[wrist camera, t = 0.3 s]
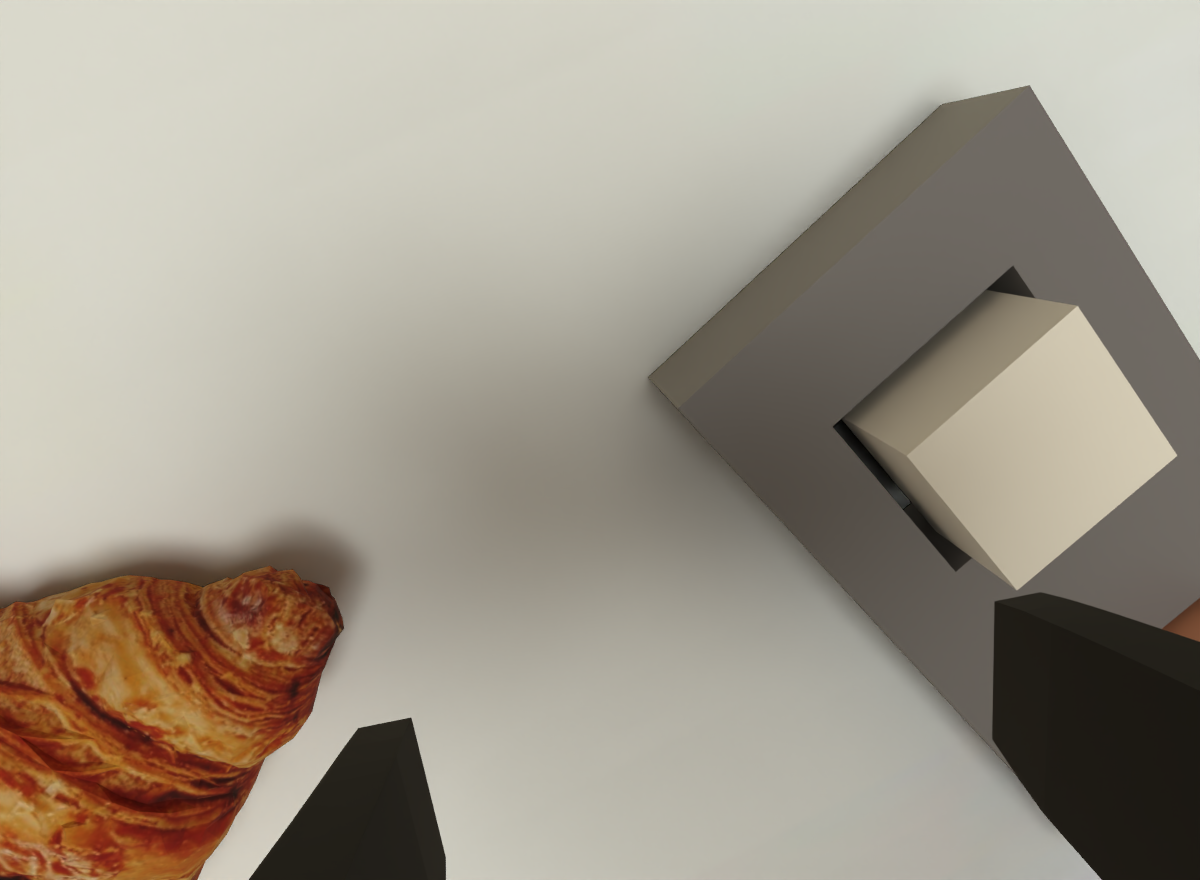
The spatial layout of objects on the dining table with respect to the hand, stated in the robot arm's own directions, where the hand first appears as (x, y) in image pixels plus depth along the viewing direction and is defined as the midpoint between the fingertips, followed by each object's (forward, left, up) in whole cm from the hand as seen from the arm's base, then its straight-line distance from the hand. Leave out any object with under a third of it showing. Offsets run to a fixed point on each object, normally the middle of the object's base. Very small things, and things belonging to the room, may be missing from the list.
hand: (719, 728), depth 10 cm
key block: (-9, -7, -10) cm, 15 cm away
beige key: (-4, -7, -8) cm, 11 cm away
